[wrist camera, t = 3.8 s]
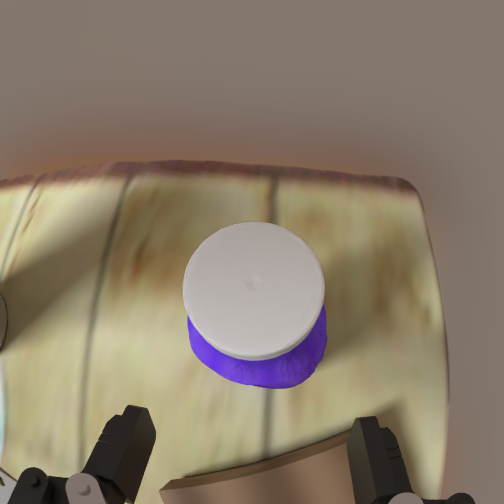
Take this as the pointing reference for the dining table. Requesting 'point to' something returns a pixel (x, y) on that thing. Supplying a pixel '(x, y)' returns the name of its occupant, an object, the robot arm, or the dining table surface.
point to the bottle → (256, 305)
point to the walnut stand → (274, 480)
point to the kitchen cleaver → (6, 487)
